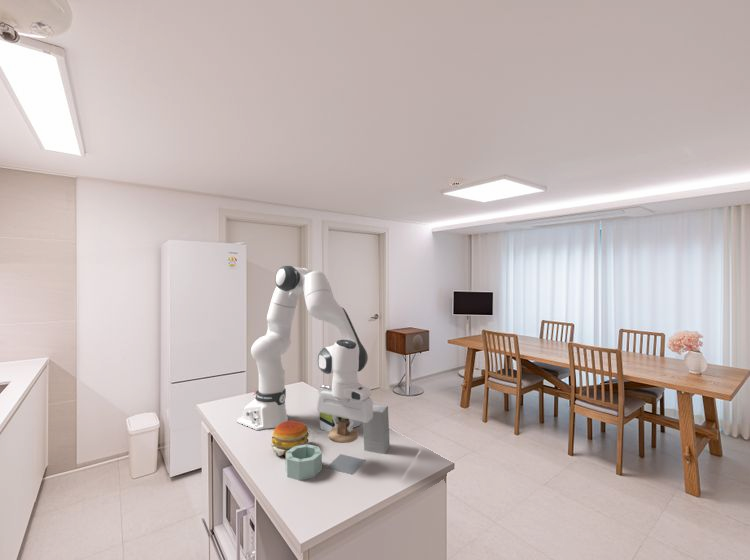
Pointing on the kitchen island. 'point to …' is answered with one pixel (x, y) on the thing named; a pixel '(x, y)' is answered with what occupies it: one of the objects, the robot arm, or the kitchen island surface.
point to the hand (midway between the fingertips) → (343, 429)
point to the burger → (289, 436)
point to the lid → (343, 433)
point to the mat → (346, 464)
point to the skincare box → (377, 431)
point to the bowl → (303, 462)
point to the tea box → (332, 422)
